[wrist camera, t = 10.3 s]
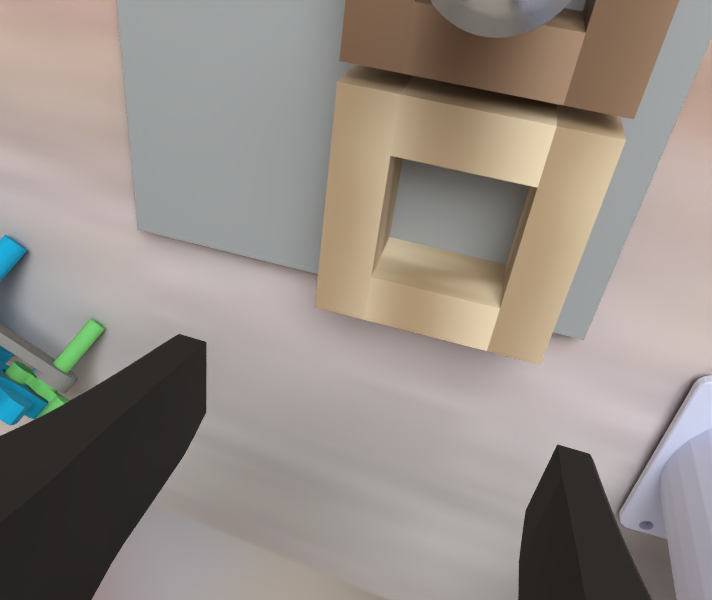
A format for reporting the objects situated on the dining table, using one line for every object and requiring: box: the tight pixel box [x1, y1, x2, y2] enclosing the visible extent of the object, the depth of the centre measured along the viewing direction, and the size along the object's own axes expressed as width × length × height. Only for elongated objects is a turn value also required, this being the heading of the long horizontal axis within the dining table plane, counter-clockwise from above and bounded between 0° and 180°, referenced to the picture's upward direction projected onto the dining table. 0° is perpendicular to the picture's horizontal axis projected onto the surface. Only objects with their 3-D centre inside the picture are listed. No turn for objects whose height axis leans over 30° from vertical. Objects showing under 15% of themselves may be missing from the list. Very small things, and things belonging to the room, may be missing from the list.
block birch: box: [315, 64, 626, 365], centre depth 18 cm, size 7×7×2 cm
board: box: [116, 0, 712, 340], centre depth 18 cm, size 16×15×1 cm
